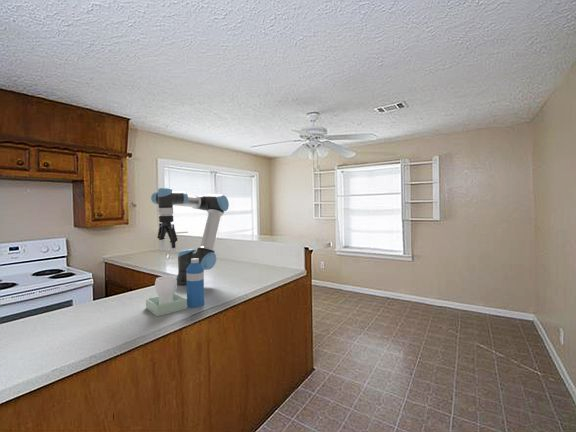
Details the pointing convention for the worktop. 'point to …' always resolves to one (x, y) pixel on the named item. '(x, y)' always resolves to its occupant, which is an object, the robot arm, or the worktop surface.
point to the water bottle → (195, 284)
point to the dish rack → (166, 305)
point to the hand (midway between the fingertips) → (167, 252)
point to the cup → (165, 288)
